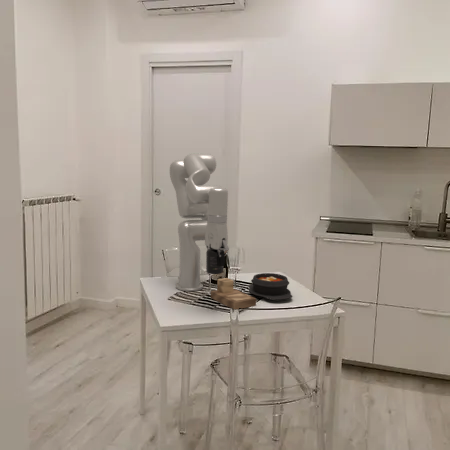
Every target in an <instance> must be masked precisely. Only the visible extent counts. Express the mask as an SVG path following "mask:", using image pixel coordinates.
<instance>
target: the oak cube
mask: <svg viewBox="0 0 450 450" xmlns="http://www.w3.org/2000/svg"><path fill="white" fill-rule="evenodd" d="M234 282H235V281H234V280H233V279H231V278H228V277H226V278H225V277H224V278H218V279H217V283H216V284H217V285H216V286H217V288H216V290H217V291H219V292H222V293H229V292H233V289H234Z"/></svg>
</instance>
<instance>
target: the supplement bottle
mask: <svg viewBox="0 0 450 450" xmlns="http://www.w3.org/2000/svg"><path fill="white" fill-rule="evenodd" d="M220 248H221V247H220ZM220 252H222V250H220ZM205 254H206V256H205V258H206V262H205V265H206V269H205V271H206V273H207V274H211V275H221V274H223V273H224V266H219V267H218V266H217V256H218V251H217V250H215V249H212V248H211V244H210V247H209V249H208V250H207V249H206V253H205Z"/></svg>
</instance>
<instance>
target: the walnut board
mask: <svg viewBox="0 0 450 450" xmlns="http://www.w3.org/2000/svg"><path fill="white" fill-rule="evenodd" d="M210 299H212V300H214V301H216V302H218V303H220V304H222V305H223V306H225V307H228V308H230V309H232V308H233V309H232V310H234V309H235V310H240V309H239V308H241V309H245V308H251V307H255V306H257V298H256V297H254V296H251V295H249V294H247V293H244V292H242V291H240V290H238V289H236V288H233V292H229V293H222V292H219V291H217V289H215V290H211V291H210Z"/></svg>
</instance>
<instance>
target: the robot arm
mask: <svg viewBox="0 0 450 450" xmlns="http://www.w3.org/2000/svg"><path fill="white" fill-rule="evenodd" d="M216 168H217V161H216V158H215V156H213V155H212V154H211V153H189V154H187V155H186V156H184V158H183V159H178V160H174V161H172V162H171V163H170V166H169V177H170V180H171V181H170V182H171V183H172V186H173V189H174V191H175V195H176V196H175V197H176V203H177V211H178V214H179V216H180V218H182V219H186V220H183V221H181V222H180V223H179V224H178V226H177V233H178V240H179V275H178V277H177V279H178V281H179V282H178V283H176V284H175V288H176V289H177V290H180V291H184V292H185V291H186V292H195V291H200V290H202V289H203V288H204V285H203V283H201V249H200V247H199V245H198V244H197V243H196V242H198V241H200V242H201V241H204V245H205V247H206V251H207V250H208V249H209V247H210V244H211V248H212V249H215V250H217V251H218V256H217V266H218V267H219V266H223V267H224V266H225V265H226V264H225V263H226V262H225V261H226V255H227V254H228V252H229V250H230V247H229V246H228V226H227V224H228V207H229V203H228V201H229V191H228V189H227V188H224V187H223V186H221V185H209V184H208V185H206V183H208V181H209V180H210V178H211V175H212V174H213V173H214V172H215V170H216ZM186 179H187V180H186ZM220 247H221V248H220ZM220 250H222V252H220Z"/></svg>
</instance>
